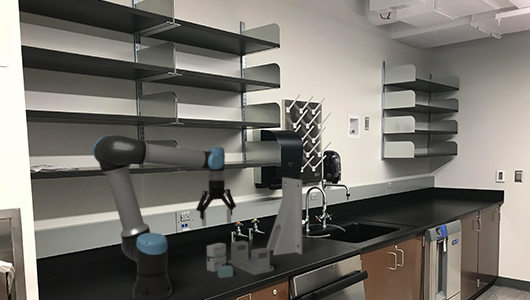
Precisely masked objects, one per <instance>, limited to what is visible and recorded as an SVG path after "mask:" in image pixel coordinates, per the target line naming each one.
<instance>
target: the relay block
mask: <svg viewBox="0 0 530 300" xmlns="http://www.w3.org/2000/svg"><path fill="white" fill-rule="evenodd" d="M217 276H218V278H220V279H223V278H232V277H233V276H234V268H233V267H232V266H231V265H226V266H221V267H218V271H217Z"/></svg>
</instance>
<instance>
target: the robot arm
mask: <svg viewBox="0 0 530 300" xmlns="http://www.w3.org/2000/svg"><path fill="white" fill-rule="evenodd" d="M92 153H93V158H94V159H95V160H96V161H97V163H98V165H99V167H100V171H101V173H102V174H105V175H106V177H107V179H108V183H109V187H110V189H111V193H112V197H113V199H114V200H113V201H114V203H115V207H116V210H117V213H118V217H119V221H120V224H121V227H122V231H121V233H120V237H121V242H120V243H121V244H120V246H121V251H122V252H123V254H124V255H125V256H126V258H128V259H130V260H132V261H134V262H135V263H136V279H135V283H134V286H133V288H132V299H134V300H165V299H167V298H169V297H170V296H171V295H172V294H173V286H172V284H171V281H170V279H169V275H168V240H167V237H166V236H165V235H164V234H161V233H156V232H151V231H150V230H151V229H150V227H149V224H147V223H145V222H144V218H143V216H142V212H141V208H140V205H139V201H138V199H137V195H136V191H135V187H134V185H133V181H132V177H131V173H130V171H129V170H130V167H131V165H136V166H137V165H138V166H143V165H144V164H153V165H154V164H155V165H165V166H175V167H186V168H188V169H203V170H208V179H209V180H208V190H202V192H201V193H202V194H201V197H200V199H199V202H198V204H197V207H196V211H197V212H199V217H200V220H201V226H202V227H206V226H207V212H206V210H207V209H208V207H209V206H210V204H211V203H212V202H213V201H214V200H216V201H217V200H221V201H222V202H223V203H224V205H225V206H226V208H227V209H226V223H228V224H232V216H233V210H234V209H235V208H236V207H237V205H236V203H235V201H234V198H233V196H232V194H231V189H230V188H225V186H226V185H225V184H226V183H225V174H226V173H225V171H226V170H225V165H226V162H225V161H226V154H225V148H224V147H220V146H217V147H216V146H215V147H211V146H210V147H208V151H206V150H199V149H192V148H182V147H178V146H177V147H176V146H175V147H174V146H167V145H161V144H152V143H147V141H146V140H140V139H136V138H131V137H128V136H124V135H116V134H115V135H111V134H110V135H105V136H103V137H100V138H98V139H97V140H96V142H95V143H94V145H93V148H92ZM208 195H209V196H208ZM225 195H226V196H225ZM226 197H227V198H226Z"/></svg>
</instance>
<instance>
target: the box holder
mask: <svg viewBox="0 0 530 300" xmlns="http://www.w3.org/2000/svg"><path fill="white" fill-rule="evenodd" d="M266 248H267V247H260V248H255V249H254V248H253V249H251V251H250V253H251V254H250V255H251V256H249V242H248V241H245V240H240V241H239V240H238V241H233V242H230V259H229V260H226V264H229V265H230V266H231V265H232V266H233V267H236V268H237V269H241V270H242V271H244V272H247V273H249V274H251V275H254V276H256V275H261V274H265V273H270V272H273V271H275V269H274V268H275V267H274V266H272V265H270V263H271V262H270V261H271V260H270V258H271V257H270V255H271V253H270V252H271V251H270V250H269V249H266Z"/></svg>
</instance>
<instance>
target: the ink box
mask: <svg viewBox="0 0 530 300" xmlns="http://www.w3.org/2000/svg"><path fill="white" fill-rule="evenodd" d="M221 266H227V243H223V242H216V243H213V244H210V245H209V244H208V245H206V271H209V272H212V273H215V272H218V267H221Z"/></svg>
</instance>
